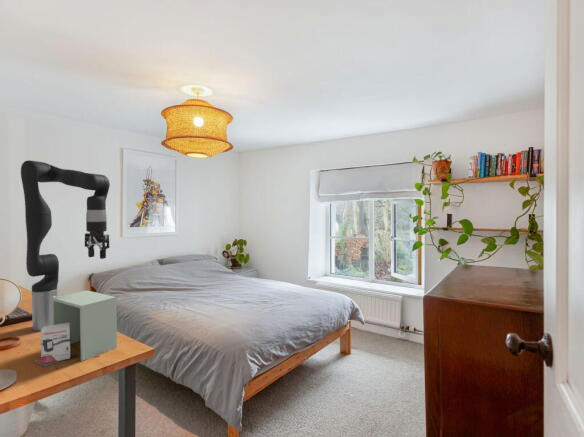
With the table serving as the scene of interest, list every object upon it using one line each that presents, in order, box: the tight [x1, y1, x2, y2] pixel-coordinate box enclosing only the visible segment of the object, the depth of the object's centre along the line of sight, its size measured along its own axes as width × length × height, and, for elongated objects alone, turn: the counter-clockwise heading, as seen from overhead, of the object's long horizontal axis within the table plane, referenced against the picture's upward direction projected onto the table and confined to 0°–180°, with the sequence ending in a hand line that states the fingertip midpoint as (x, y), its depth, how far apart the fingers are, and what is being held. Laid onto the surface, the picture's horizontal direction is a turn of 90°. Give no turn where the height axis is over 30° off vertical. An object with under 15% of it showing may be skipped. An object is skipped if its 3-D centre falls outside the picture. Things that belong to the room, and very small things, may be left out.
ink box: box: [40, 323, 72, 365], centre depth 117 cm, size 8×5×12 cm, turn 124°
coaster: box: [35, 358, 66, 368], centre depth 116 cm, size 7×7×1 cm
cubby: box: [52, 290, 118, 362], centre depth 126 cm, size 20×13×20 cm, turn 61°
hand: (97, 257), depth 141 cm, fingers open, 8 cm apart
